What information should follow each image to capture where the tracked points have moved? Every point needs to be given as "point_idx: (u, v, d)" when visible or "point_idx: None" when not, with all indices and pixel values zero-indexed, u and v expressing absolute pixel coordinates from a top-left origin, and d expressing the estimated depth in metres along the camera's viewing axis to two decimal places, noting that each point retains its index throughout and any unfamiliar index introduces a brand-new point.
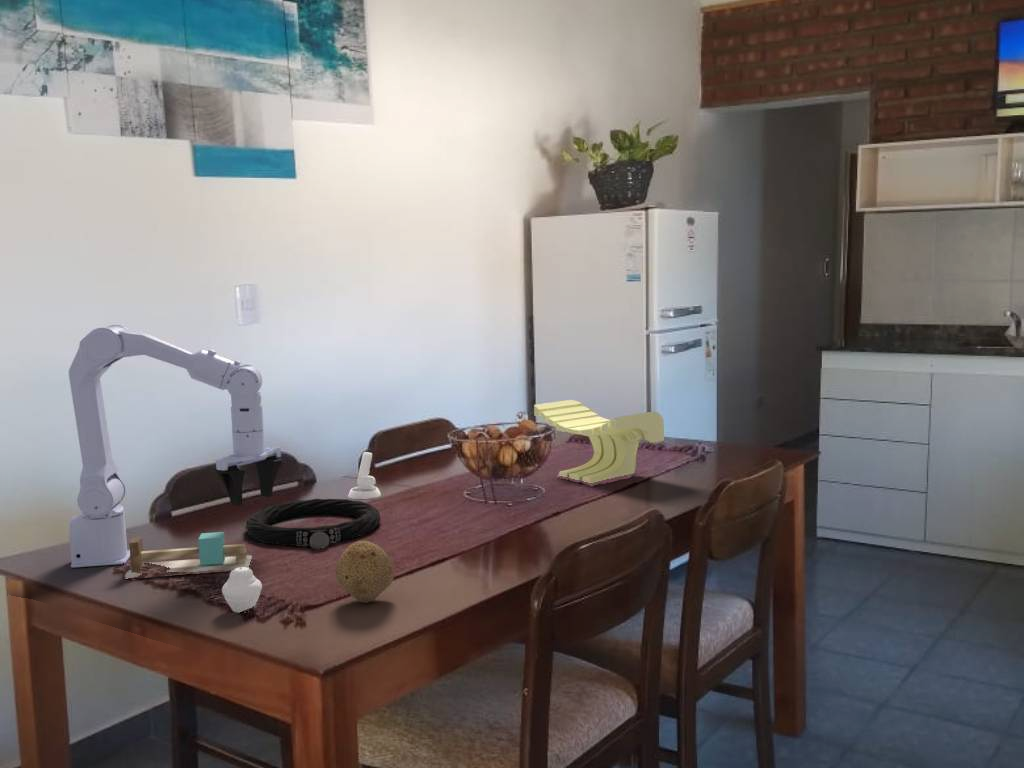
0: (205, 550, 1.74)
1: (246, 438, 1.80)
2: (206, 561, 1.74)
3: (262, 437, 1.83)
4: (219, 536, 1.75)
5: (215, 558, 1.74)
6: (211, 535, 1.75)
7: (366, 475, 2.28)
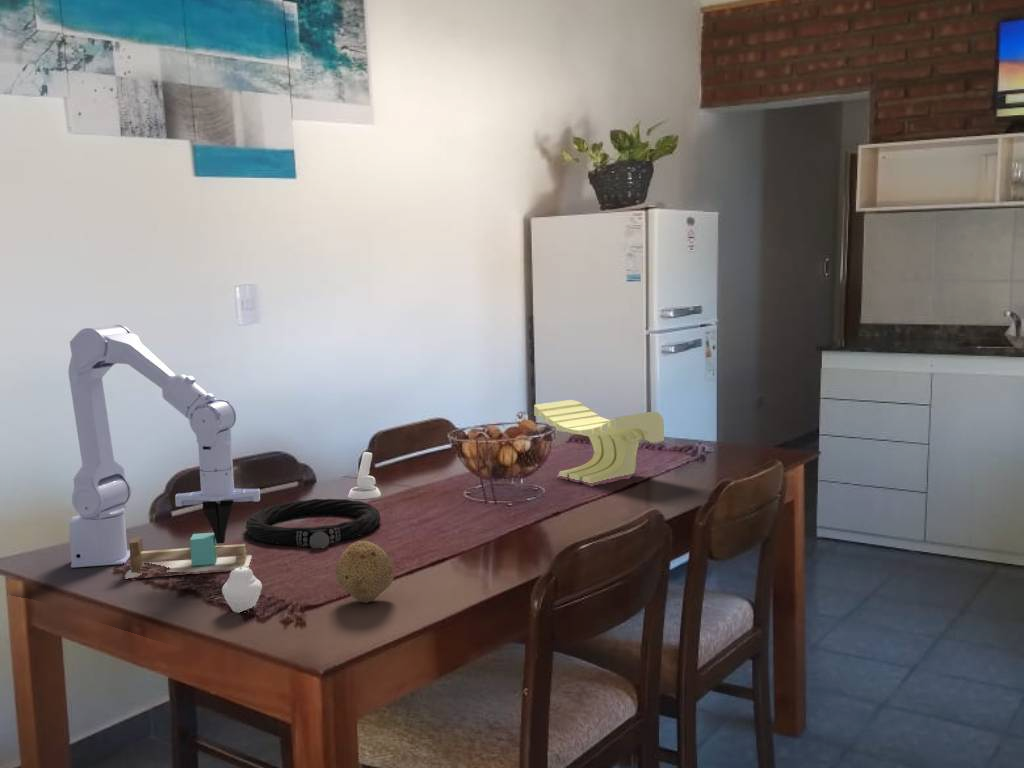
0: (197, 551, 1.73)
1: (202, 477, 1.72)
2: (198, 562, 1.74)
3: (221, 478, 1.72)
4: (211, 537, 1.74)
5: (206, 558, 1.74)
6: (203, 536, 1.75)
7: (366, 475, 2.28)
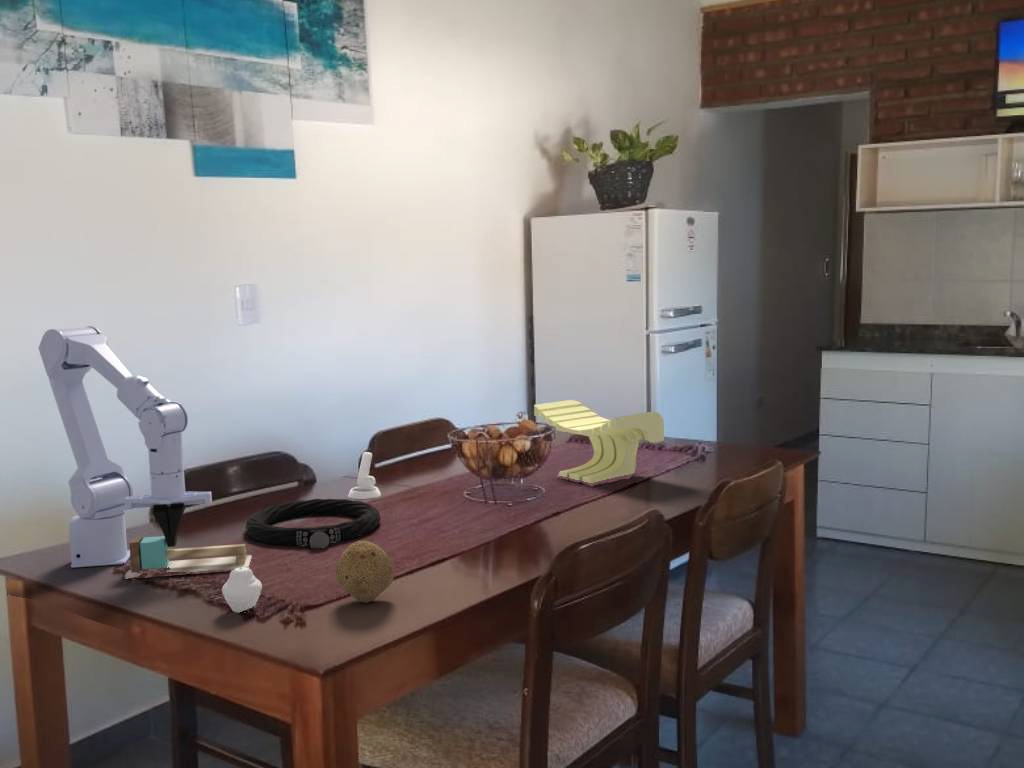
0: (147, 554, 1.72)
1: (152, 480, 1.71)
2: (148, 565, 1.72)
3: (171, 481, 1.71)
4: (161, 540, 1.73)
5: (157, 562, 1.72)
6: (154, 539, 1.74)
7: (366, 475, 2.28)
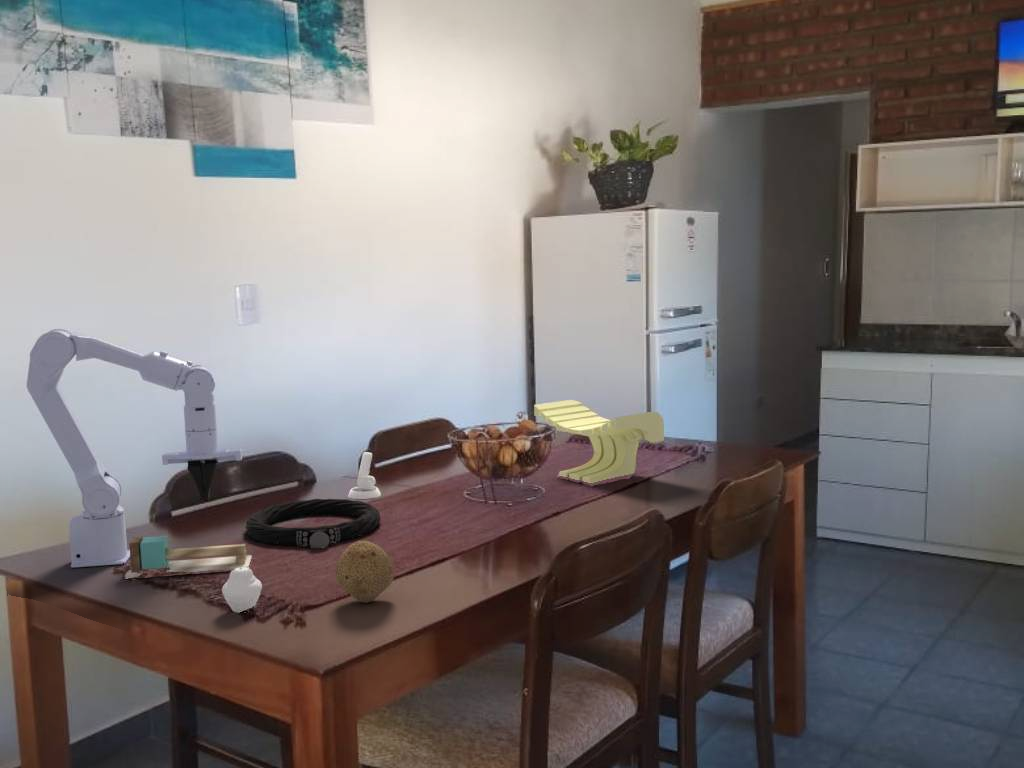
0: (147, 554, 1.72)
1: (188, 437, 1.83)
2: (148, 565, 1.72)
3: (205, 438, 1.83)
4: (161, 540, 1.73)
5: (157, 562, 1.72)
6: (154, 539, 1.74)
7: (366, 475, 2.28)
